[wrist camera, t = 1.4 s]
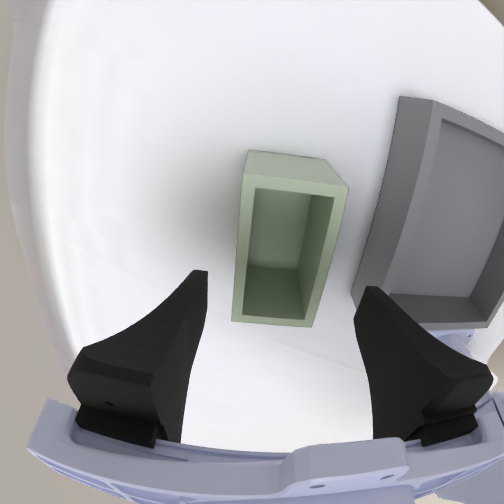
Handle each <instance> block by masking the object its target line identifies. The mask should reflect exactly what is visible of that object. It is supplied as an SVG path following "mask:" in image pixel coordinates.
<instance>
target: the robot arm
mask: <svg viewBox="0 0 504 504" xmlns="http://www.w3.org/2000/svg"><path fill="white" fill-rule="evenodd" d="M207 292H208V271H202V270H193V271H192V272H191V273H190V274H189V275H188V276H187V278H186V279H185V280H184V281H183V282H182V283H181V284H180V285H179V286H178V288H177V289H176V290H175V291H174V292H173V293H172V294H171V295H170V296H169V297H168V298H167V299H165V300H164V301H163V302H162V303H161V304H160V305H159V306H158V307H157V308H155V309H154V310H153V311H152V312H150V313H149V314H148V315H146V316H145V317H144V318H142V319H141V320H139V321H138V322H136V323H135V324H133V325H131V326H130V327H128V328H126V329H125V330H123V331H121V332H119V333H117V334H115V335H113V336H111V337H109V338H107V339H104V340H102V341H99V342H97V343H94V344H91V345H89V346H86V347H83V348H82V350H81V351H80V353H79V354H78V356H77V358H76V359H75V361H74V363H73V365H72V367H71V369H70V371H69V373H68V375H67V380H68V383H69V385H70V387H71V389H72V390H73V392H74V394H75V395H76V397H77V398H78V400H79V401H80V403H81V406H80V409H79V411H77V410H76V409H75V408H73V407H71V406H69V405H67V404H64V403H61V402H59V401H56V400H54V399H51V398H48V399H47V401H46V402H45V405H44V407H43V409H42V411H41V413H40V415H39V418H38V420H37V422H36V424H35V427H34V429H33V431H32V434H31V436H30V439H29V441H28V443H27V446H26V448H27V450H28V451H29V452H31V453H32V454H33V455H34V456H36V457H37V458H38V459H40V460H41V461H42V462H43V463H45V464H46V465H47V466H48V467H50V468H51V469H53V470H54V471H56V472H57V473H60V474H62V475H64V476H66V477H68V478H71V479H73V480H75V481H78V482H80V483H82V484H85V485H87V486H90V487H92V488H95V489H97V490H100V491H102V492H105V493H108V494H111V495H113V496H116V497H119V498H122V499H125V500H128V501H131V502H134V503H138V504H415V503H414V500H415V499H418V498H421V497H424V496H426V495H429V494H432V493H434V492H435V493H436V494H437V496H438V497H439V498H442V499H446V500H451V501H458V502H462V503H465V504H504V393H503V392H498V391H495V392H494V393H493V395H492V393H491V392H490V391H489V389H490V387H491V385H492V383H493V376H492V374H491V372H490V370H489V368H488V366H487V365H486V364H483V363H481V362H478V361H476V360H474V359H473V358H472V356H471V354H470V352H469V350H468V348H467V347H466V344H467V342H468V341H469V339H470V338H471V336H472V335H473V333H474V329H455V330H425V329H424V328H422V327H421V326H420V325H419V324H418V323H417V322H416V321H414V320H413V319H412V318H411V317H410V316H409V315H408V314H407V313H406V312H405V311H404V310H403V309H401V308H400V307H399V306H398V305H397V304H396V303H395V302H394V301H393V300H392V299H391V298H390V297H389V296H388V295H387V294H386V293H385V292H384V291H383V290H381V289H380V288H379V287H378V286H366V287H365V290H364V293H363V295H362V298H361V301H360V303H359V306H358V308H357V311H356V313H355V316H354V318H353V319H354V326H355V332H356V338H357V341H358V345H359V348H360V352H361V355H362V359H363V362H364V366H365V369H366V373H367V377H368V381H369V387H370V395H371V404H372V415H373V440H365V441H356V442H345V443H330V444H319V445H311V446H307V447H303V448H300V449H296V450H295V451H293V452H292V453H272V452H249V451H236V450H225V449H215V448H207V447H200V446H193V445H187V444H181V443H180V442H181V433H182V425H183V417H184V410H185V403H186V396H187V390H188V384H189V378H190V373H191V369H192V365H193V361H194V358H195V355H196V351H197V348H198V345H199V341H200V338H201V335H202V331H203V328H204V324H205V318H206V312H207Z"/></svg>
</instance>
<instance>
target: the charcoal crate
mask: <svg viewBox="0 0 504 504" xmlns="http://www.w3.org/2000/svg"><path fill="white" fill-rule="evenodd" d="M366 286H378V287H379V288H380V289H381V290H383V291H384V292H385V293H386V294H387V295H388V296H389V297H390V298H391V299H392V300H393V301H394V302H395V303H396V304H397V305H398V306H399V307H400V308H401V309H403V310H404V311H405V312H406V313H407V314H408V315H409V316H410V317H411V318H412V319H413V320H414V321H416V322H417V323H418V324H419V325H420V326H421V327H422V328H424V329H425V330H455V329H475V328H488V326H489V324H490V323H491V321H492V320H493V318H494V316H495V315H496V313H497V311H498V309H499V308H500V306H501V304H502V303H503V301H504V133H502V132H500V131H499V130H497V129H495V128H493V127H491V126H489V125H487V124H485V123H483V122H481V121H479V120H477V119H475V118H473V117H471V116H469V115H467V114H464V113H462V112H460V111H458V110H456V109H453V108H451V107H449V106H446V105H444V104H441V103H439V102H436V101H434V100H427V99H420V98H411V97H401V96H400V97H399V103H398V110H397V116H396V122H395V127H394V133H393V138H392V143H391V148H390V153H389V158H388V162H387V167H386V171H385V176H384V180H383V184H382V188H381V192H380V196H379V200H378V204H377V208H376V212H375V215H374V219H373V223H372V226H371V230H370V233H369V237H368V240H367V243H366V247H365V250H364V253H363V256H362V260H361V263H360V266H359V269H358V272H357V275H356V278H355V281H354V284H353V287H352V290H351V296H352V298H353V301H354V304H355V307H356V310H357V308H358V306H359V303H360V301H361V298H362V295H363V293H364V290H365V287H366Z"/></svg>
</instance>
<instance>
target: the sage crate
mask: <svg viewBox="0 0 504 504" xmlns="http://www.w3.org/2000/svg"><path fill="white" fill-rule="evenodd" d="M348 190H349V187H348V186H347V185H346V183H345V182H344V181H343V180H342V179H341V178H340V176H339V175H338V174H337V173H336V172H335V171H334V170H333V168H332V167H331V166H330V165H329V164H328V163H327V162H326V161H325V160H323V159H317V158H310V157H303V156H296V155H289V154H281V153H272V152H263V151H254V150H249V152H248V156H247V160H246V164H245V168H244V172H243V181H242V192H241V203H240V215H239V227H238V239H237V251H236V263H235V276H234V289H233V302H232V316H231V321H235V322H246V323H256V324H268V325H281V326H295V327H311V328H312V325H313V322H314V319H315V316H316V312H317V309H318V306H319V302H320V299H321V296H322V292H323V289H324V285H325V282H326V278H327V275H328V271H329V267H330V264H331V260H332V256H333V252H334V249H335V245H336V241H337V237H338V233H339V229H340V225H341V220H342V216H343V212H344V208H345V203H346V199H347V194H348Z"/></svg>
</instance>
